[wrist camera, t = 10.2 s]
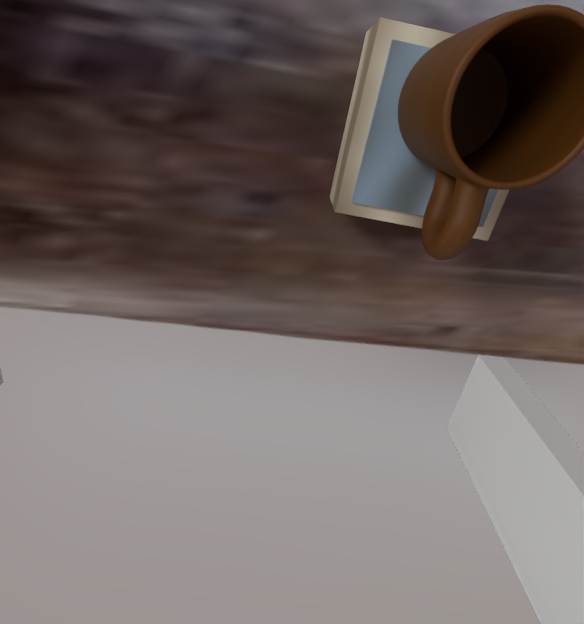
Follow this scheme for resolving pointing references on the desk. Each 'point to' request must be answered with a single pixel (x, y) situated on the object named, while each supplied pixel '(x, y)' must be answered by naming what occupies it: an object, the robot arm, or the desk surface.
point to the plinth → (390, 136)
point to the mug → (494, 114)
